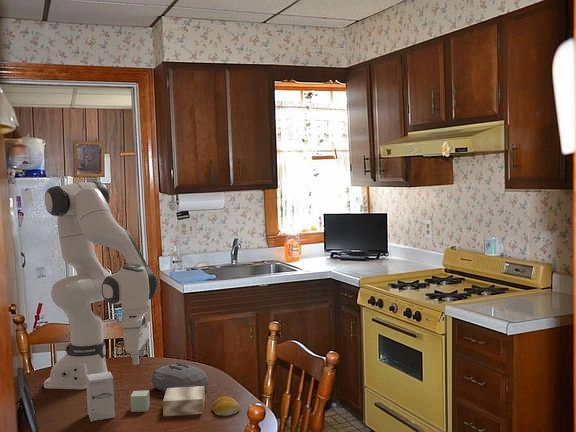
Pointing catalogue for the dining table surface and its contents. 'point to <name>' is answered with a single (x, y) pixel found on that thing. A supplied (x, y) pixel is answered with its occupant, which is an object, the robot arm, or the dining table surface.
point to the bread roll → (225, 406)
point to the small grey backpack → (178, 377)
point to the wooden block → (184, 401)
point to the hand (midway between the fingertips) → (139, 360)
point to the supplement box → (100, 396)
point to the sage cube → (140, 401)
